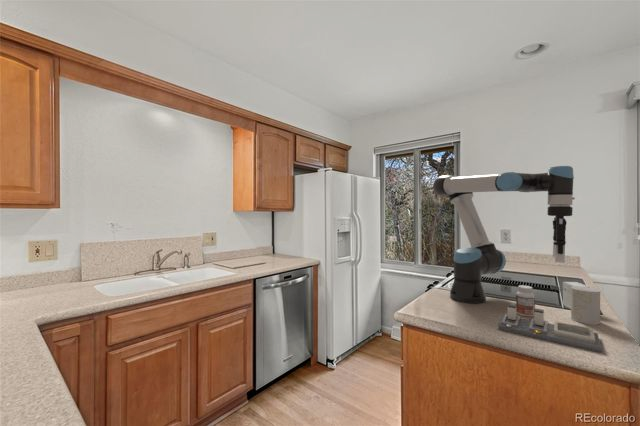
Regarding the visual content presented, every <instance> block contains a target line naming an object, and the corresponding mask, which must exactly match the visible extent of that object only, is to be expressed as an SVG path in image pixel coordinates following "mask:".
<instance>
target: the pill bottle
mask: <svg viewBox="0 0 640 426" xmlns="http://www.w3.org/2000/svg"><path fill="white" fill-rule="evenodd" d="M517 289H518V291H516V293H515V305H516V314H517V315H518V316H524V317H534V310H535V309H536V295H535V294H534V292H533V287H532V286H529V285H523V284H521V285H518V287H517Z"/></svg>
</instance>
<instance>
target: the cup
mask: <svg viewBox="0 0 640 426" xmlns="http://www.w3.org/2000/svg"><path fill="white" fill-rule="evenodd" d="M570 319H571V320H573V321H575V322H577V323H580V324H584V325H592V326H597V325H598V324H599V325H600V324H601V290H600V289H597V288H593V287H591V286H589V287H583V286H572V287H571V309H570Z"/></svg>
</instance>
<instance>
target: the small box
mask: <svg viewBox="0 0 640 426" xmlns="http://www.w3.org/2000/svg"><path fill="white" fill-rule="evenodd" d="M572 286H583V287H590V286H589V285H587V284H584V283H580V282H577V281H562V305H563V306H564V307H566V308H567V309H569V310H571V287H572Z"/></svg>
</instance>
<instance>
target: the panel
mask: <svg viewBox="0 0 640 426" xmlns="http://www.w3.org/2000/svg"><path fill="white" fill-rule="evenodd" d="M521 316H522V315H518V314H516V320H511V319H508V312H507V313H505V314H503V316H502V318H501V319H500V322H499V323H498V325H497V330H499V331H503V332H507V333H508V332H509V333H512V334H515V335H521V336H526V337H530V338H533V339H539V340H544V341H547V342H552V343H557V344H560V345H564V346H570V347H575V348H579V349H584V350H588V351H593V352H597V353H603V352H602V351H603V350H602V349H603V348H602V344H601V341H600V338H599V334H598V332H595V331H594V329H593V328H592V327H587V326H583V325H577V324H572V323H571V324H570V323H566V322H561V321H555V320H554V324H553V323H549V321H548V320H544V326H541V325H536V324H534V317H533V318H531V319H528V318H523V317H521Z"/></svg>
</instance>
